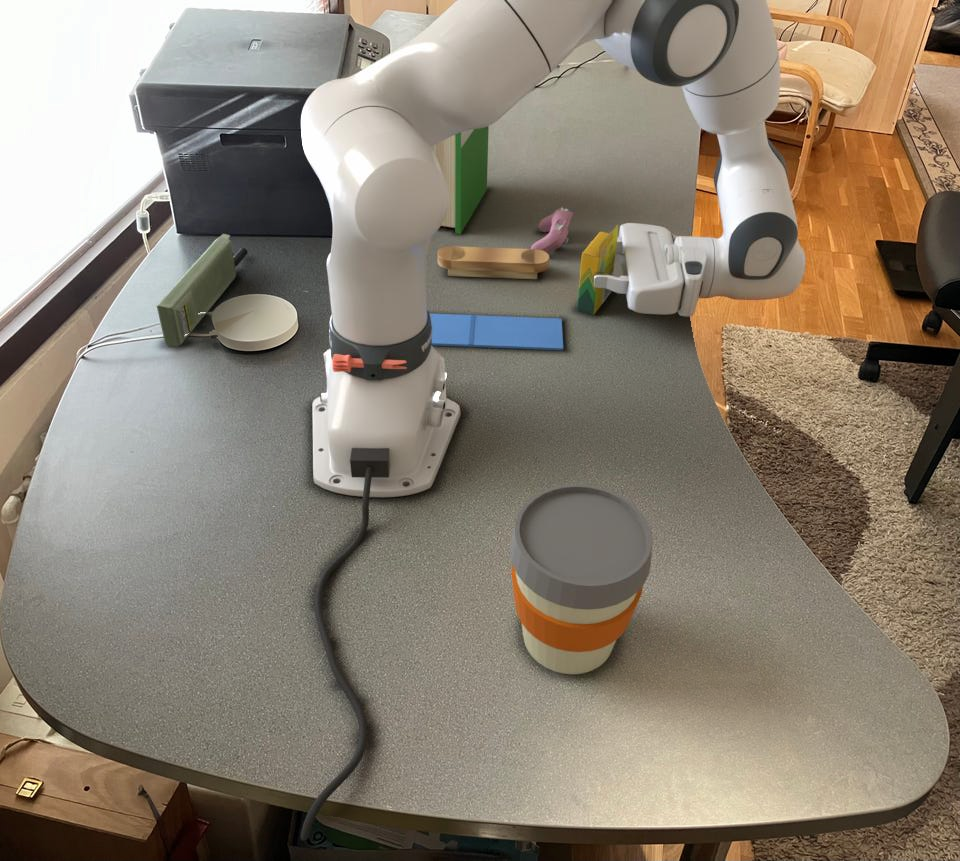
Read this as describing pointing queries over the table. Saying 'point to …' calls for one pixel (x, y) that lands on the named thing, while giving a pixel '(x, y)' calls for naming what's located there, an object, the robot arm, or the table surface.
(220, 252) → the handheld radio
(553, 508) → the reusable coffee cup
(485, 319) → the blue cloth
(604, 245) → the crayon box
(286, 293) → the table surface
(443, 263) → the scrub brush
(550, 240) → the video game controller
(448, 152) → the hardback book
